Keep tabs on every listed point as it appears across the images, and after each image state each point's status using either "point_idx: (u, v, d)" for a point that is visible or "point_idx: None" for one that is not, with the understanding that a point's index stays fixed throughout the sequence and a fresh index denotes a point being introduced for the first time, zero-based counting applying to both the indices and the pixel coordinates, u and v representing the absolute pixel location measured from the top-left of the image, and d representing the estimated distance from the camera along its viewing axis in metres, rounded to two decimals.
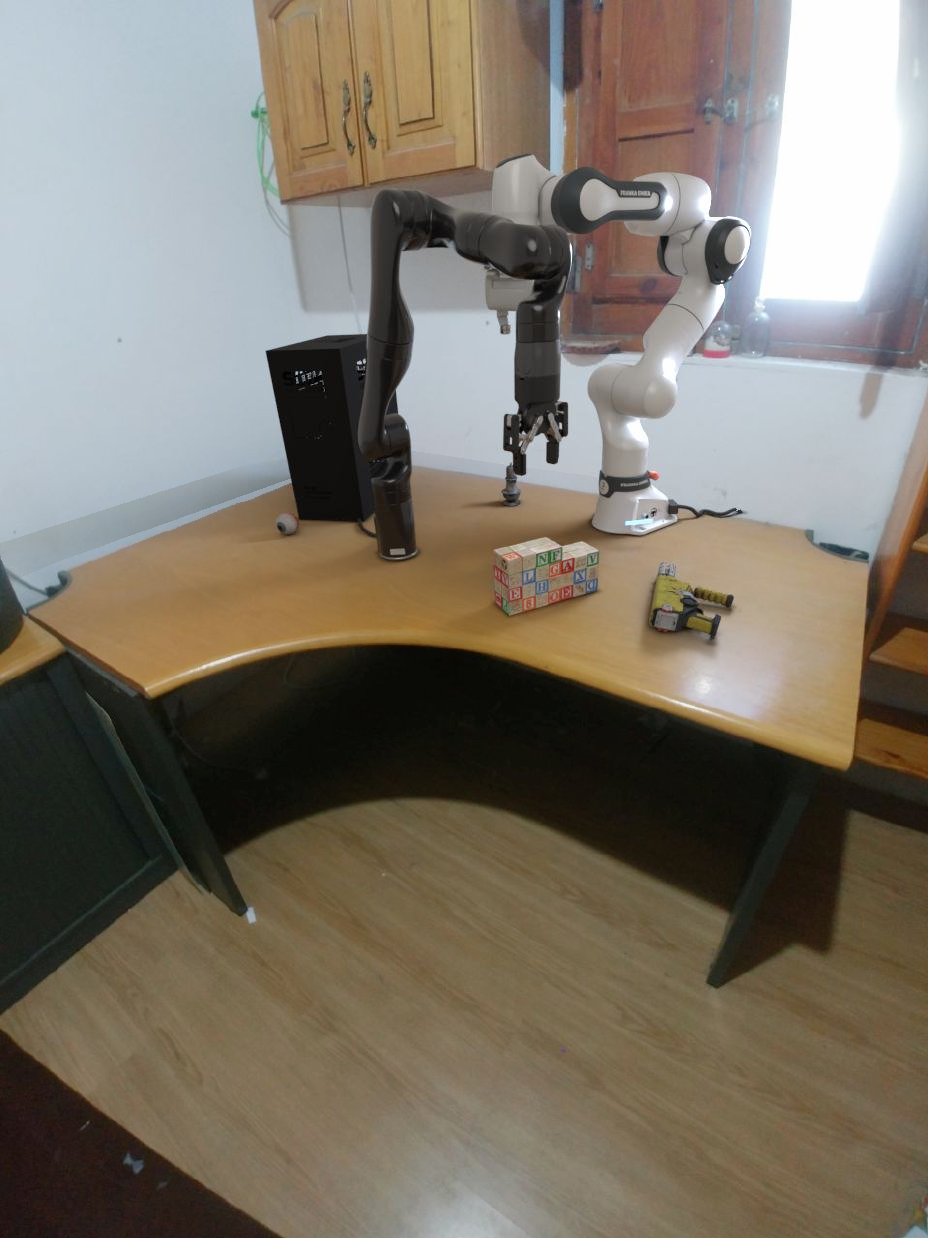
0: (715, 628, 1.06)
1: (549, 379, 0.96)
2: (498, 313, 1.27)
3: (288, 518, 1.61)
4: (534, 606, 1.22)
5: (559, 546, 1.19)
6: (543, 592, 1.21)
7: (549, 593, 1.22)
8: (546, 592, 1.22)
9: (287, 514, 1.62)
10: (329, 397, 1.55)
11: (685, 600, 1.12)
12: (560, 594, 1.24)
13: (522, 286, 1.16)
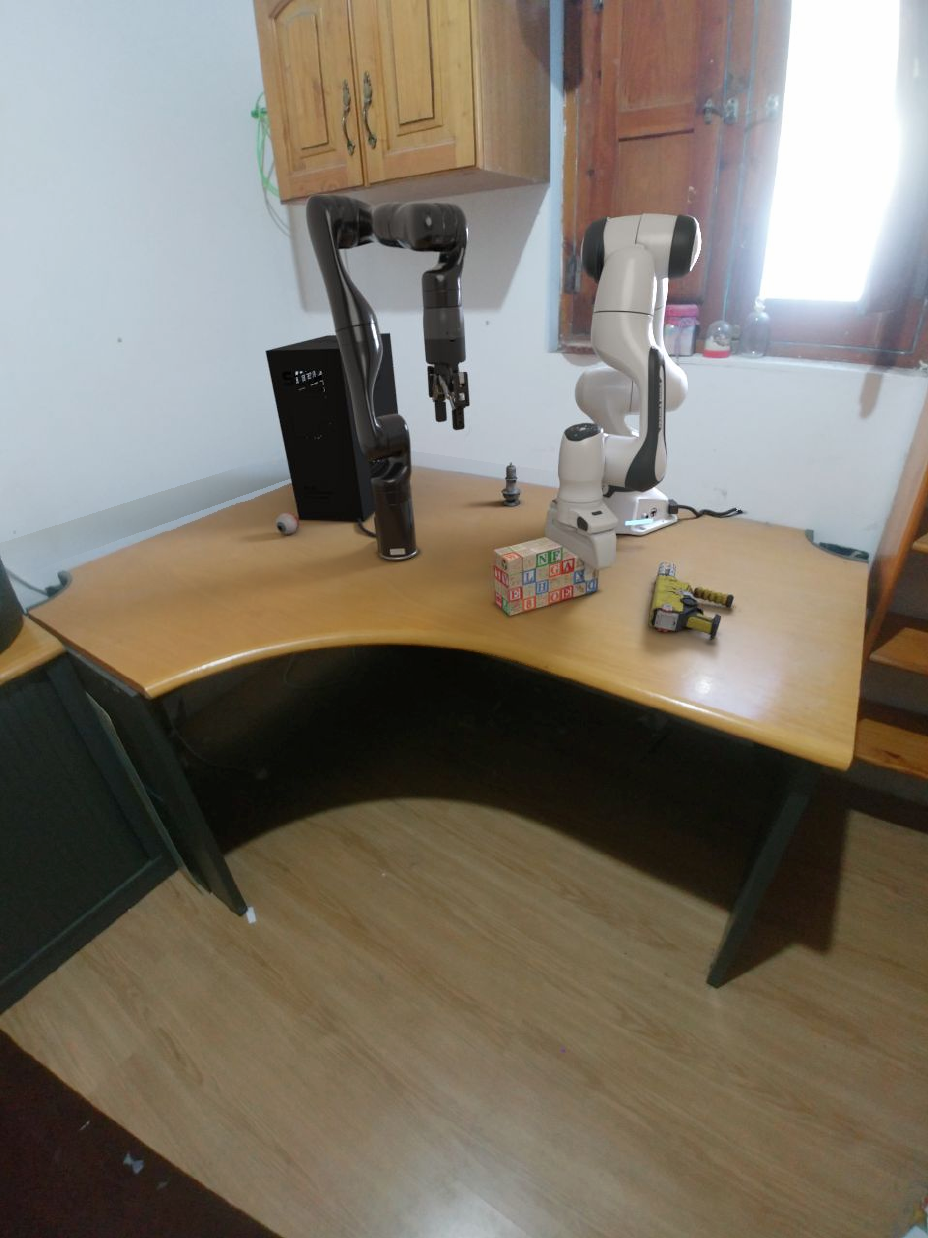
0: (715, 628, 1.06)
1: None
2: None
3: (288, 518, 1.61)
4: (534, 606, 1.22)
5: (559, 546, 1.19)
6: (544, 593, 1.21)
7: (549, 593, 1.22)
8: (546, 593, 1.22)
9: (287, 514, 1.62)
10: (329, 397, 1.55)
11: (685, 600, 1.12)
12: (560, 594, 1.24)
13: None
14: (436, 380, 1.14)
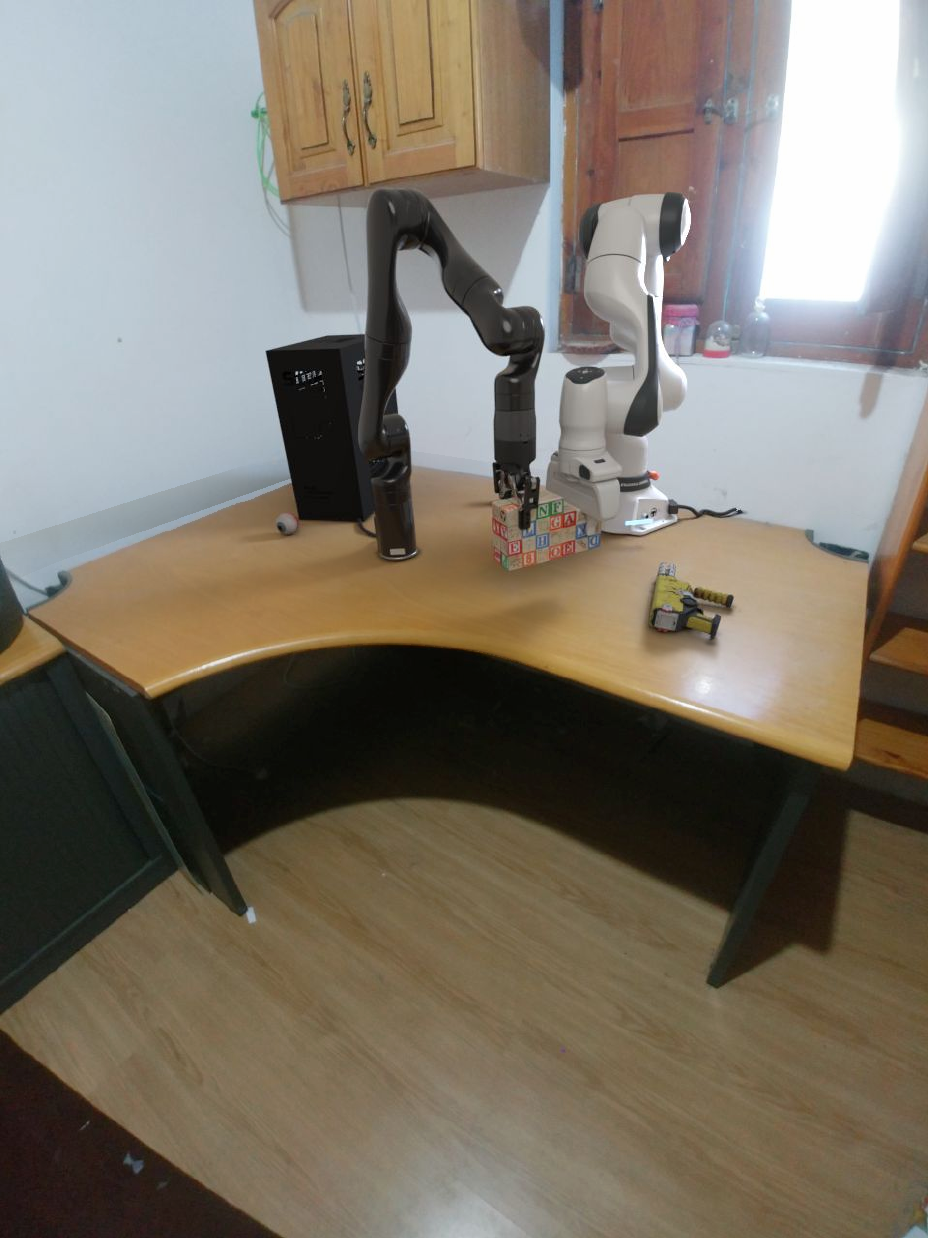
0: (715, 628, 1.06)
1: None
2: None
3: (288, 518, 1.61)
4: (534, 561, 1.17)
5: (560, 497, 1.14)
6: (544, 547, 1.17)
7: (550, 548, 1.17)
8: (546, 547, 1.17)
9: (287, 514, 1.62)
10: (329, 397, 1.55)
11: (685, 600, 1.12)
12: (562, 550, 1.19)
13: None
14: (504, 477, 1.11)
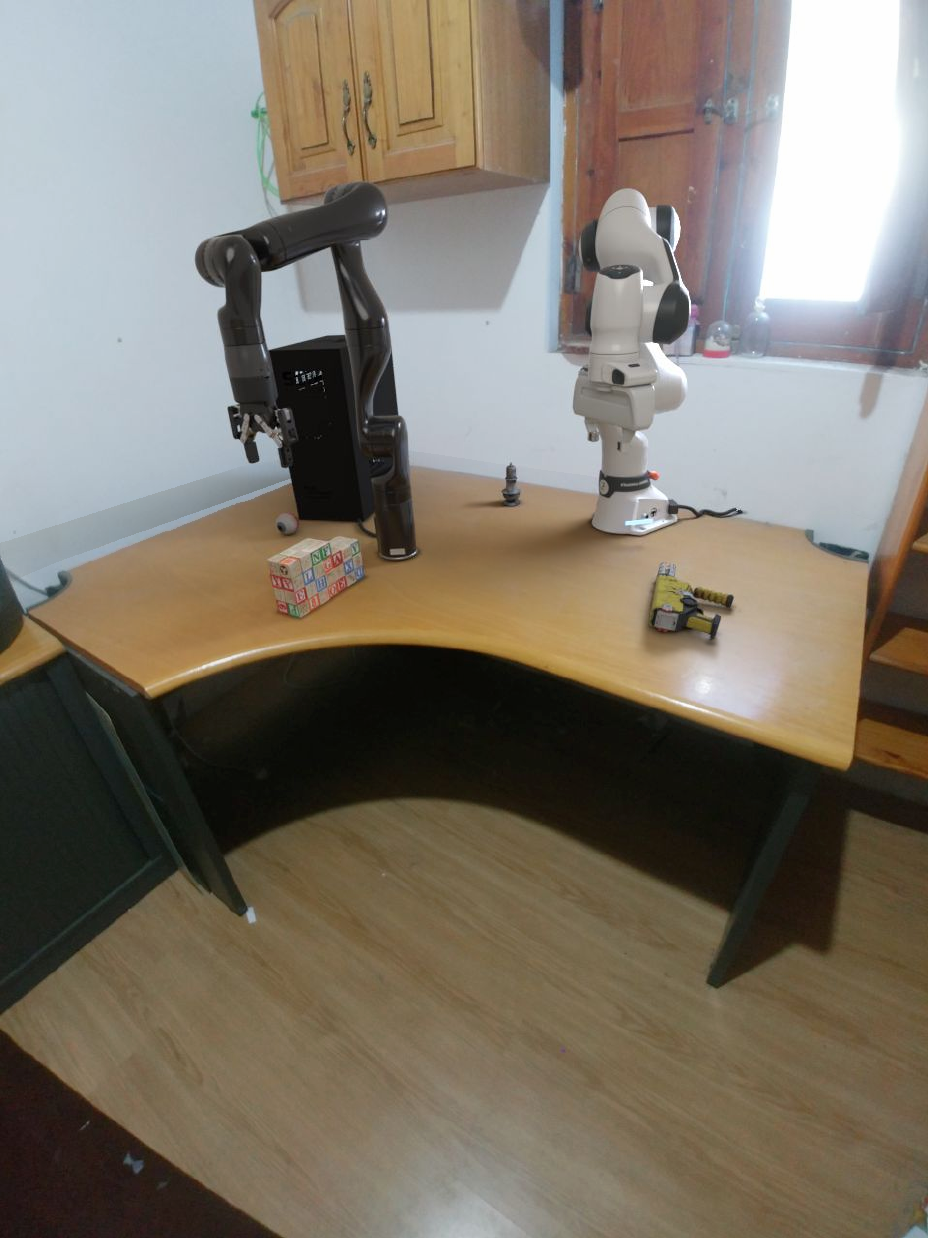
0: (715, 628, 1.06)
1: None
2: None
3: (288, 518, 1.61)
4: (319, 603, 1.28)
5: (326, 542, 1.27)
6: (324, 588, 1.28)
7: (328, 588, 1.30)
8: (325, 588, 1.29)
9: (287, 514, 1.62)
10: (329, 397, 1.55)
11: (685, 600, 1.12)
12: (337, 587, 1.32)
13: None
14: (249, 420, 1.08)
